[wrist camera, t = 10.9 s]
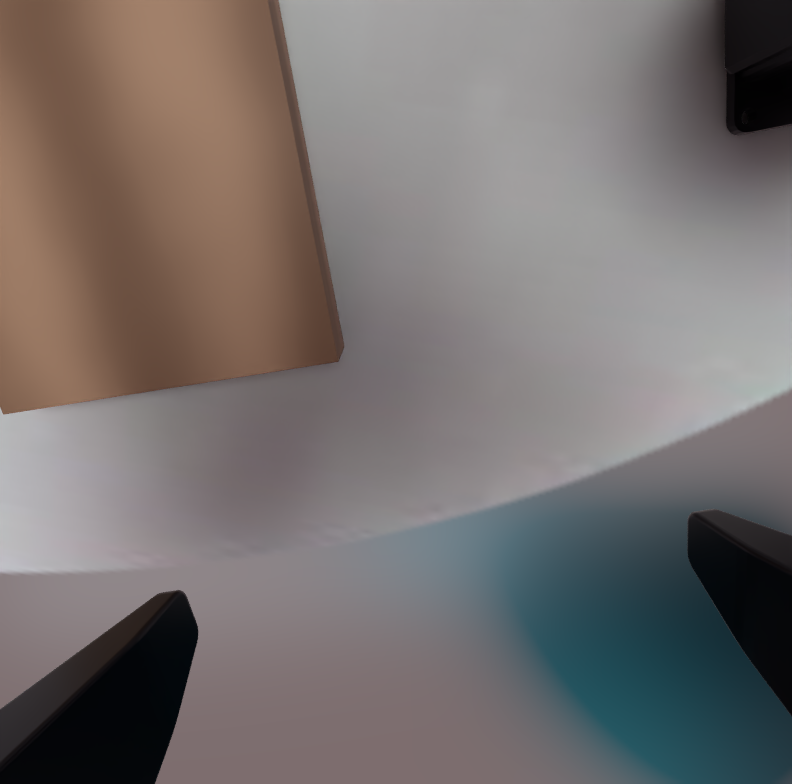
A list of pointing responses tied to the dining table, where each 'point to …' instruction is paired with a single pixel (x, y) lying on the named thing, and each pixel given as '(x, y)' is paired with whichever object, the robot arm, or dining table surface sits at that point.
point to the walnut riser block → (153, 201)
